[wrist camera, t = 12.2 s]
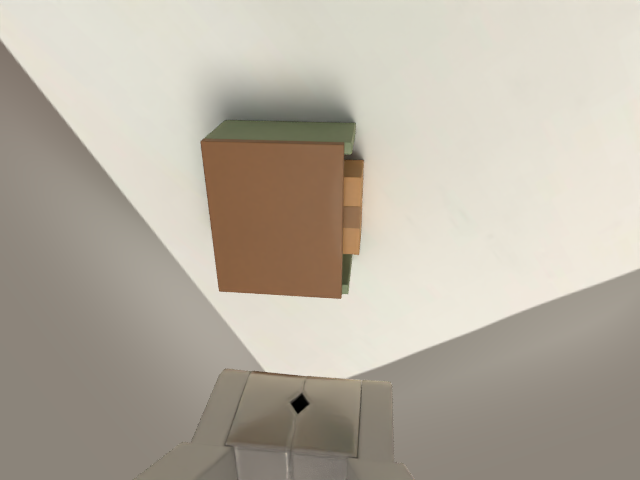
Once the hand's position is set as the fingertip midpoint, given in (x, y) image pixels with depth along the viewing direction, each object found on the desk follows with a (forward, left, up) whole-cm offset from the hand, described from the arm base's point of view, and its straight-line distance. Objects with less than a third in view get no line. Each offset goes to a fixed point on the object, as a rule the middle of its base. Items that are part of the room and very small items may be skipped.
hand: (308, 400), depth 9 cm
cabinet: (+6, +9, -31) cm, 33 cm away
